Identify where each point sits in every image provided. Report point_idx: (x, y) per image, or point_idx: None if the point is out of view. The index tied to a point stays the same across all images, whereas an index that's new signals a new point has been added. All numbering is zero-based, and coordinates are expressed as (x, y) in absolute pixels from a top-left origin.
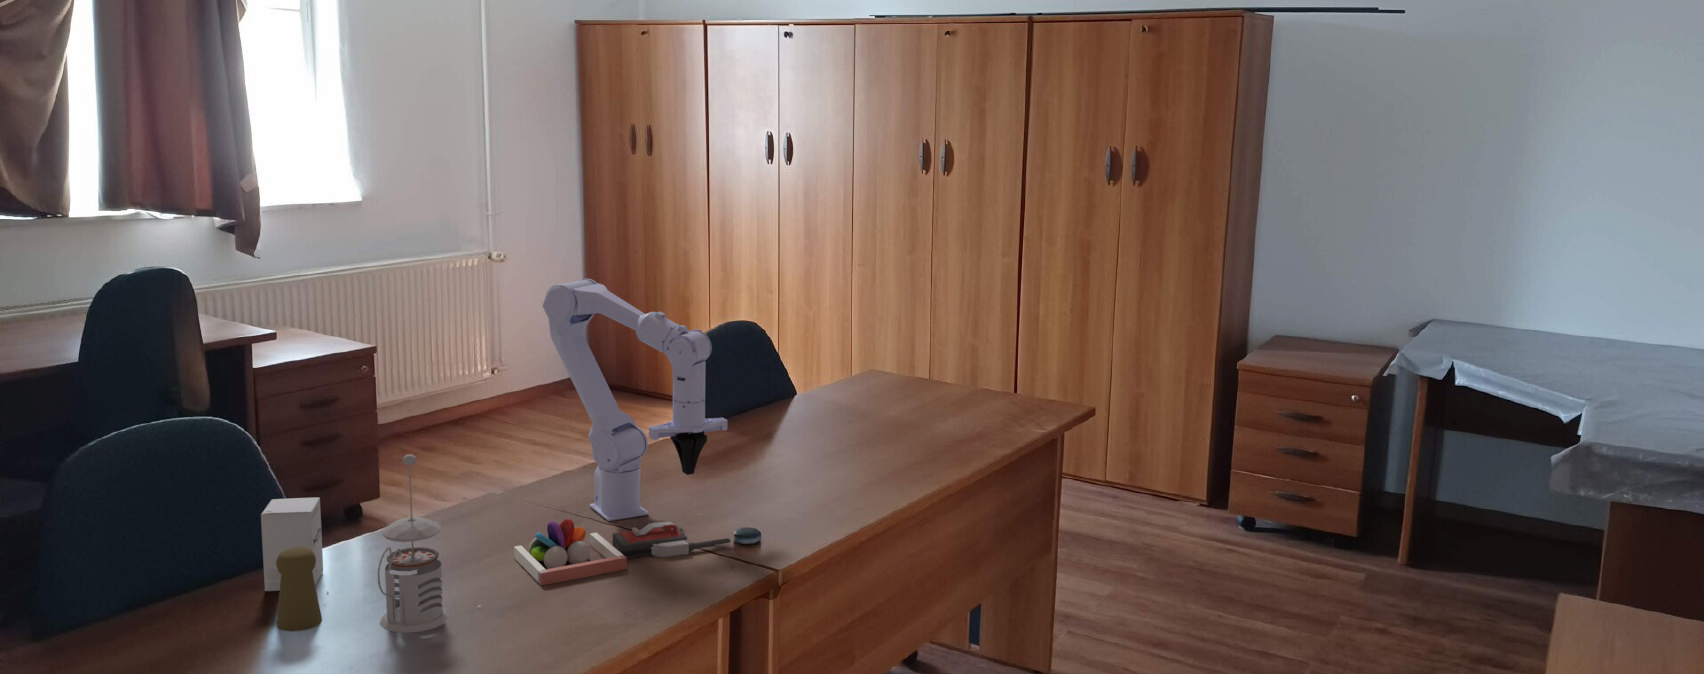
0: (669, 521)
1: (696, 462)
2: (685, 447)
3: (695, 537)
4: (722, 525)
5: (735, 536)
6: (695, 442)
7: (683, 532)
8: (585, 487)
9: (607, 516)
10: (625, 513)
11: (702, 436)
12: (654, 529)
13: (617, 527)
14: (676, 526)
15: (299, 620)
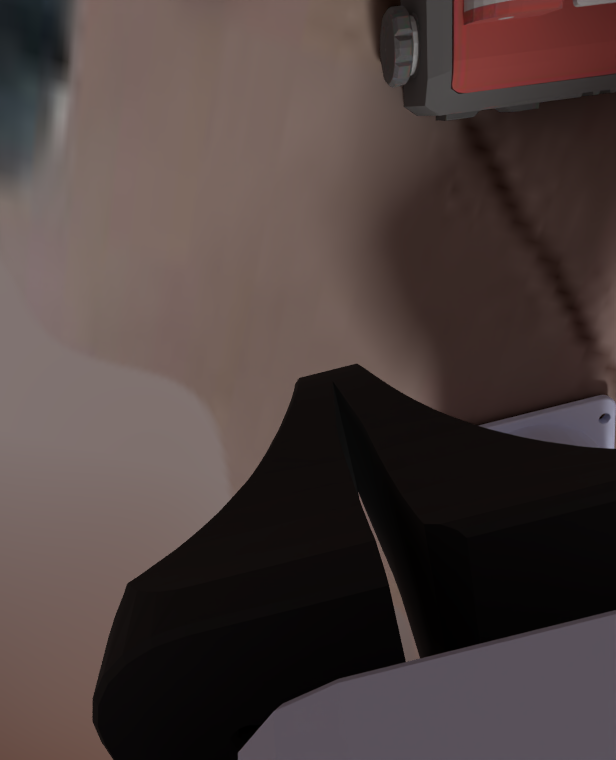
0: (510, 3)
1: (287, 414)
2: (540, 453)
3: (296, 86)
4: (121, 241)
5: (63, 35)
6: (372, 535)
7: (391, 16)
8: None
9: (605, 426)
10: (539, 429)
11: (206, 690)
12: (579, 19)
13: (598, 324)
14: (433, 50)
15: None
